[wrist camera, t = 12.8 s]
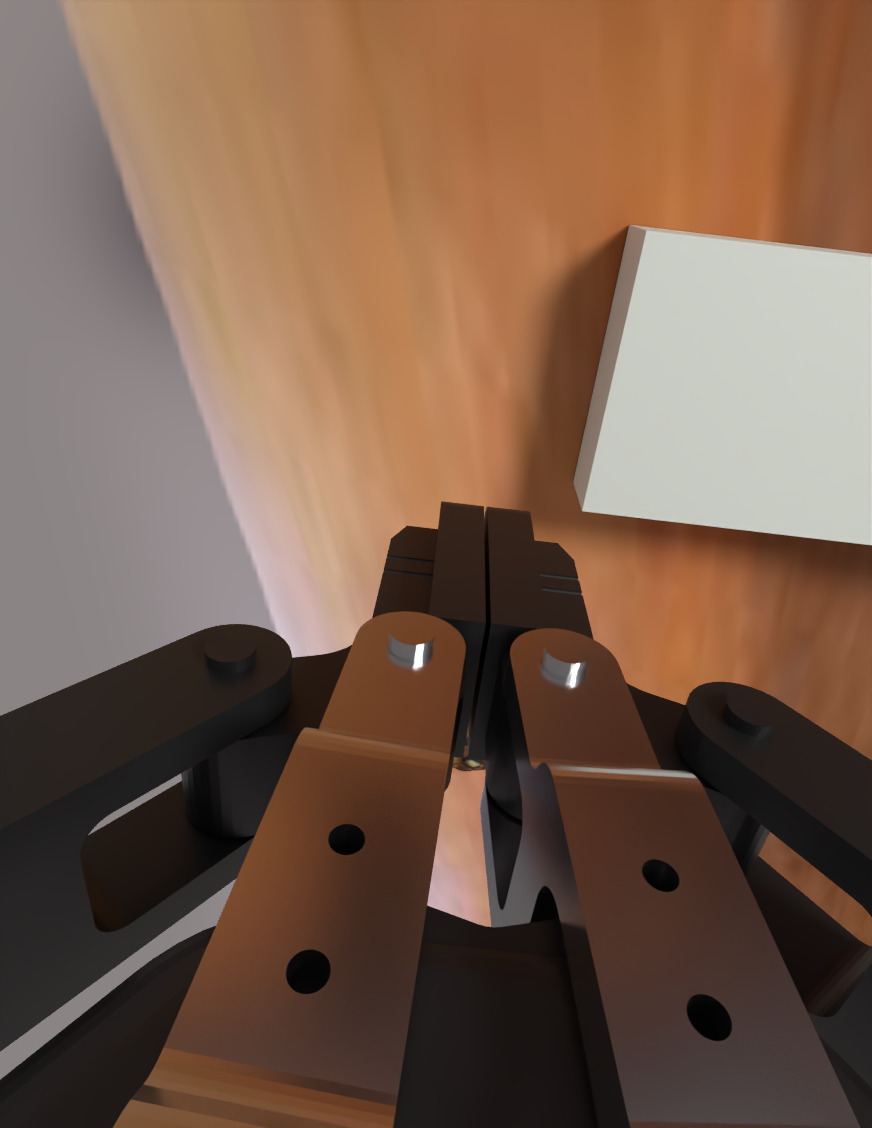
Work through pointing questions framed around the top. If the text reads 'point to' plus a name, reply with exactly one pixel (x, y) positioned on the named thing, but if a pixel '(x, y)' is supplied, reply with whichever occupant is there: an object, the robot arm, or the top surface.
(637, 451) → the ledge
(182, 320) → the top surface
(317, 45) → the top surface
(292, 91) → the top surface
